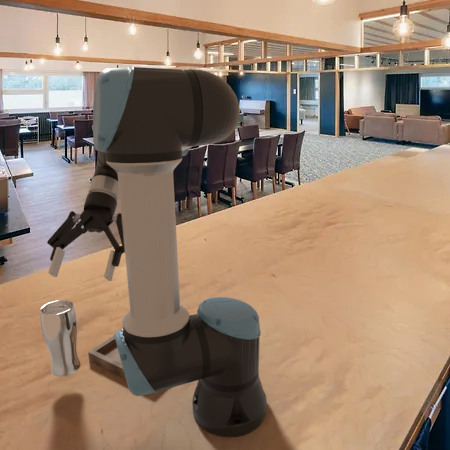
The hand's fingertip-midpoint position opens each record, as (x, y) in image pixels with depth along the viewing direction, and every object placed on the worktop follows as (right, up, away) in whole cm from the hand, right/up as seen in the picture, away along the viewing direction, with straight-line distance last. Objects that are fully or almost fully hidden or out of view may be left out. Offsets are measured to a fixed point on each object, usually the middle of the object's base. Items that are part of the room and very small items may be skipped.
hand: (79, 277), depth 90 cm
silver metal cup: (-2, -20, -4) cm, 20 cm away
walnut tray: (+14, -20, +8) cm, 26 cm away
